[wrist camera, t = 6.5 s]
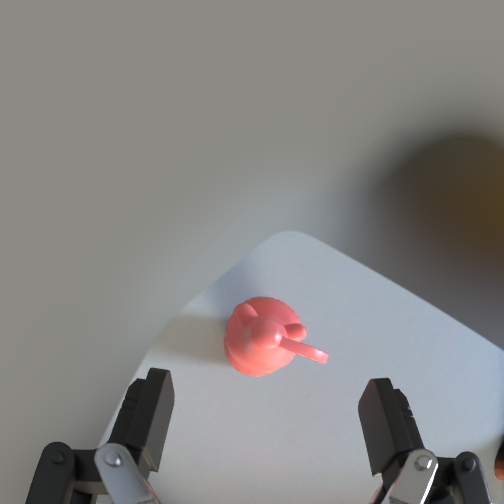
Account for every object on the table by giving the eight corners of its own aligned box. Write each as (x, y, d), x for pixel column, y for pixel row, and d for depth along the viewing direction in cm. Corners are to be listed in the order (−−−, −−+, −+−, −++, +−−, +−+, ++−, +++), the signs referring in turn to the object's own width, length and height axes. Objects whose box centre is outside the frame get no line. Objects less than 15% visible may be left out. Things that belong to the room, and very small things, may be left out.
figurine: (295, 327, 26) (357, 293, 11) (274, 382, 24) (313, 417, 10) (239, 306, 26) (235, 247, 12) (217, 361, 25) (183, 370, 10)
